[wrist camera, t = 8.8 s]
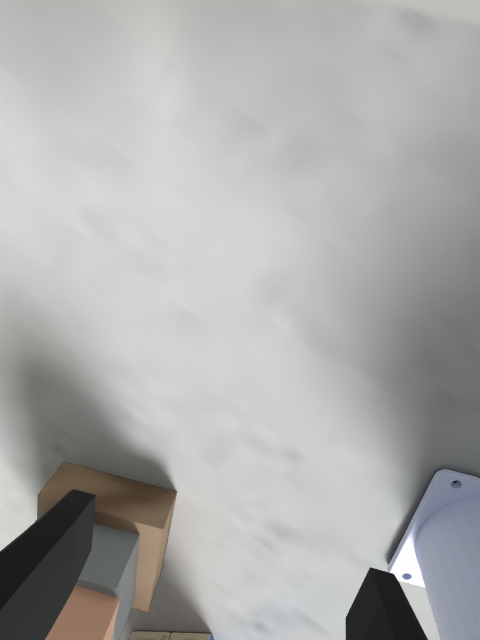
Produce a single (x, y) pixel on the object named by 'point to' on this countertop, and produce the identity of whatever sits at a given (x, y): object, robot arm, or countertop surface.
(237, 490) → the countertop surface
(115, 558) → the gray top block
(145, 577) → the walnut base block
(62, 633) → the terracotta block
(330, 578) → the countertop surface
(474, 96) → the countertop surface
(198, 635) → the stack of blocks
